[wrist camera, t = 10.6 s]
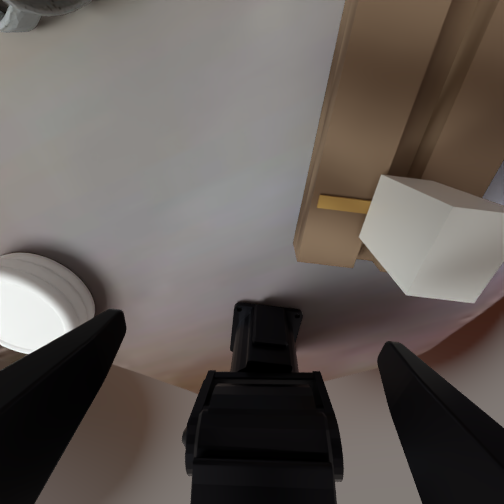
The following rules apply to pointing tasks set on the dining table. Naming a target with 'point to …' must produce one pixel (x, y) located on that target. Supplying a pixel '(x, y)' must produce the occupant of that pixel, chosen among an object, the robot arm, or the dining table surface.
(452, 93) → the fader track
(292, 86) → the dining table surface
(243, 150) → the dining table surface
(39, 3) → the ceramic mug
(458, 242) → the fader tab
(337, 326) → the dining table surface
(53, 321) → the white bowl
